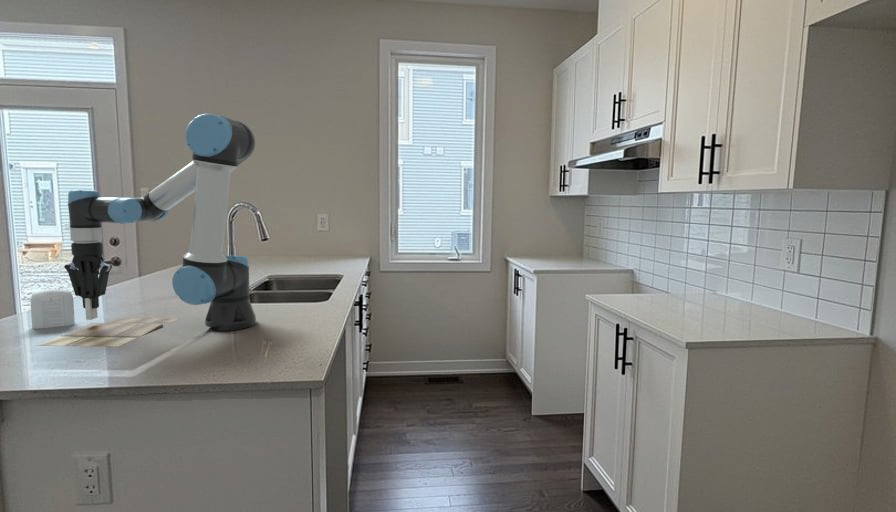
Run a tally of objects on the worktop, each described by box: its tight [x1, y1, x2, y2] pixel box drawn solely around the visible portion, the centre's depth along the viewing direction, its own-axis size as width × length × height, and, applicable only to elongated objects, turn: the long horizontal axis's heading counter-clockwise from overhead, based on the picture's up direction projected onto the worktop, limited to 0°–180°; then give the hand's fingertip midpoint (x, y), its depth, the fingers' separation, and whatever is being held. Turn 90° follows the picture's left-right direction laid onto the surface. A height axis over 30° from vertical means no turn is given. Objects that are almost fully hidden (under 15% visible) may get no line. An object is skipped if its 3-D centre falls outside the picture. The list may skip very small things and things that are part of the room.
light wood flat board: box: [37, 334, 140, 348], centre depth 132 cm, size 22×9×1 cm, turn 90°
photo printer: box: [29, 289, 76, 330], centre depth 146 cm, size 10×4×12 cm, turn 123°
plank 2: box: [106, 317, 181, 324], centre depth 155 cm, size 20×6×1 cm, turn 95°
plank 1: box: [64, 322, 164, 338], centre depth 143 cm, size 22×11×1 cm, turn 90°
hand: (91, 318), depth 145 cm, fingers closed
